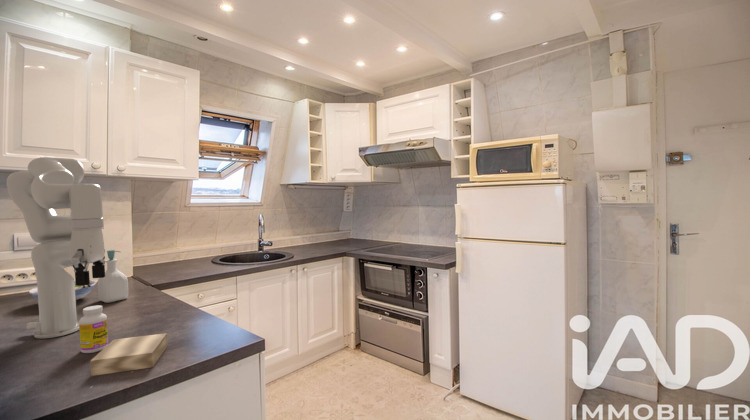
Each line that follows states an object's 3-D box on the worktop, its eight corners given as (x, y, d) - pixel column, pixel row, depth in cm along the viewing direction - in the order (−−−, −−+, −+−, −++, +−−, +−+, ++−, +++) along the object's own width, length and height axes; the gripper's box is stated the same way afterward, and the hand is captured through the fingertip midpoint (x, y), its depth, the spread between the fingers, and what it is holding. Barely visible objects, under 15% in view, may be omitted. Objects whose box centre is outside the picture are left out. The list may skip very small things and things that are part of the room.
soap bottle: (130, 298, 160) (127, 249, 158) (105, 304, 151) (102, 252, 150) (121, 295, 165) (118, 247, 164) (96, 301, 157) (93, 251, 156)
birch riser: (91, 375, 90) (90, 360, 90) (114, 352, 104) (113, 339, 103) (152, 367, 94) (152, 352, 94) (167, 345, 108) (167, 333, 107)
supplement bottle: (92, 354, 102) (90, 311, 102) (74, 353, 104) (72, 310, 103) (114, 345, 109) (111, 304, 108) (96, 343, 110) (94, 303, 110)
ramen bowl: (29, 302, 157) (28, 284, 157) (94, 291, 173) (93, 275, 173) (29, 315, 139) (27, 295, 139) (101, 302, 155) (100, 283, 155)
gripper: (87, 223, 112) (90, 276, 112) (55, 227, 95) (59, 289, 96) (114, 222, 114) (117, 274, 115) (88, 226, 97) (91, 286, 98)
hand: (91, 281), depth 105 cm, fingers open, 9 cm apart
